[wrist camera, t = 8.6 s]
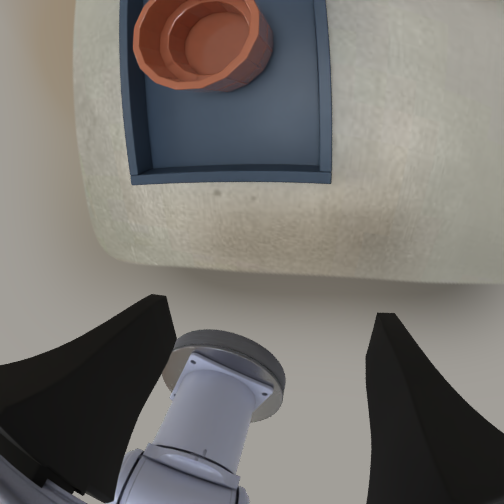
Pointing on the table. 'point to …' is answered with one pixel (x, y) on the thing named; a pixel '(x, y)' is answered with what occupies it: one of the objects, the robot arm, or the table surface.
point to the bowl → (202, 43)
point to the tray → (236, 110)
